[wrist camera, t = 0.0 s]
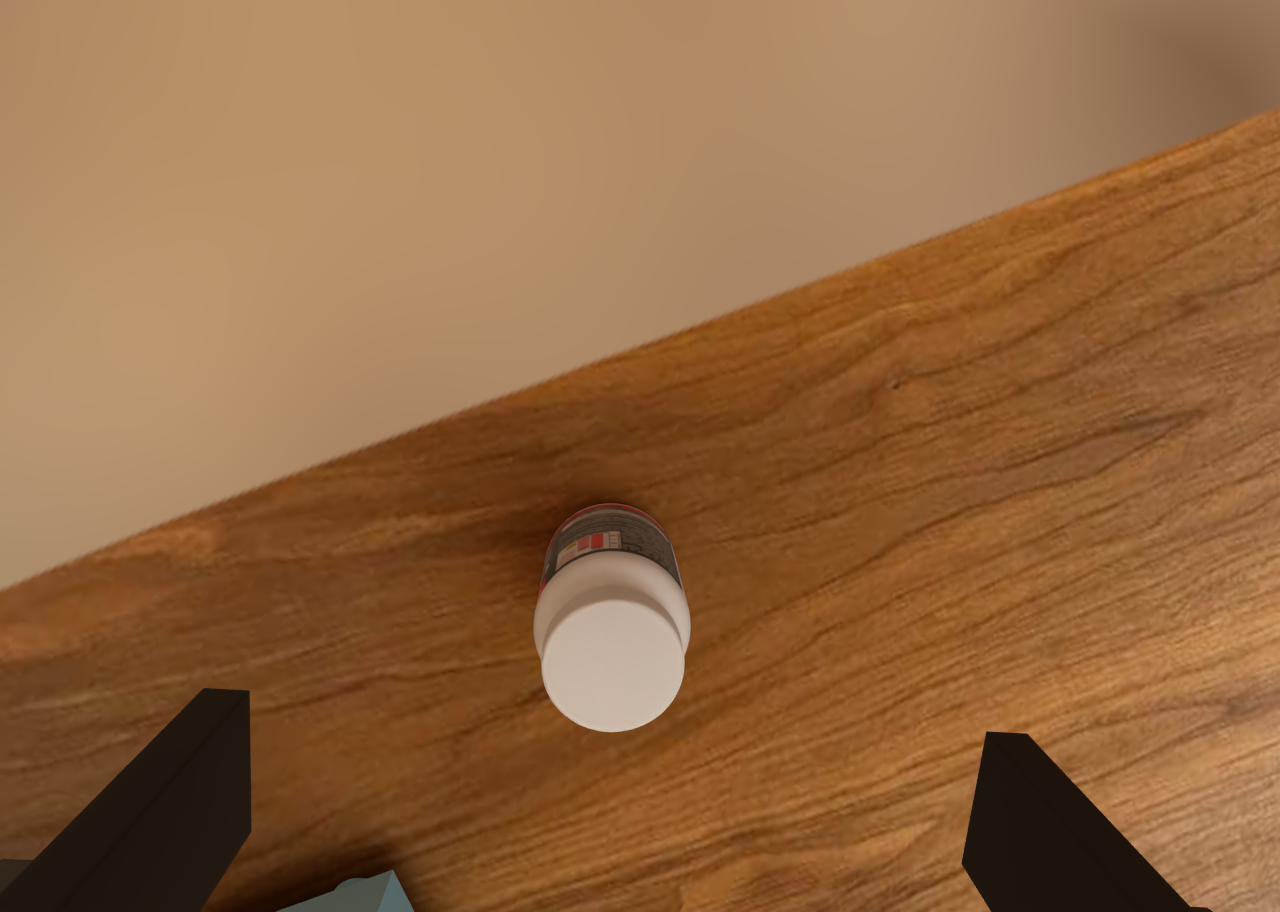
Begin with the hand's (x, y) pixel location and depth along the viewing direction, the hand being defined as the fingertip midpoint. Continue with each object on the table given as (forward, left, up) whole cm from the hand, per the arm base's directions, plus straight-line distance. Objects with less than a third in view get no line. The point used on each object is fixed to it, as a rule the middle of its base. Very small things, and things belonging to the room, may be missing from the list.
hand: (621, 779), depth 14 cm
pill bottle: (+2, +3, -21) cm, 22 cm away
